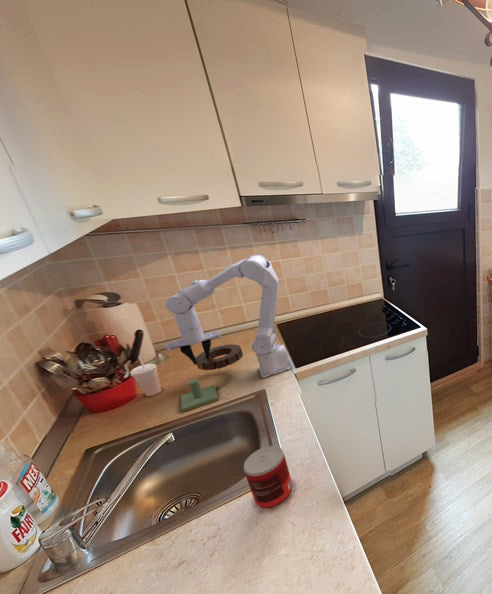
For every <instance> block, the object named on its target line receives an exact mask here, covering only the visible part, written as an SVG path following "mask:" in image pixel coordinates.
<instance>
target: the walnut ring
mask: <svg viewBox="0 0 492 594" xmlns="http://www.w3.org/2000/svg"><path fill="white" fill-rule="evenodd" d="M243 357H244V353H243V350H242V348H241V345H240V344H239V345H238V344H232V343H231V344H223V345H219V346H215V347H212V348H210V351H209V359H207V358H206V355H205V352H204V351H202V352H200V353H199V354H198V355H197V356H195V359H196V366H197V369H198V370H200V371H201V370H202V371H214V370H220V369H222V368H227V367H228V366H231V365H233V364H235V363H237V362H238V361H240V360H241V359H242V358H243Z"/></svg>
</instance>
